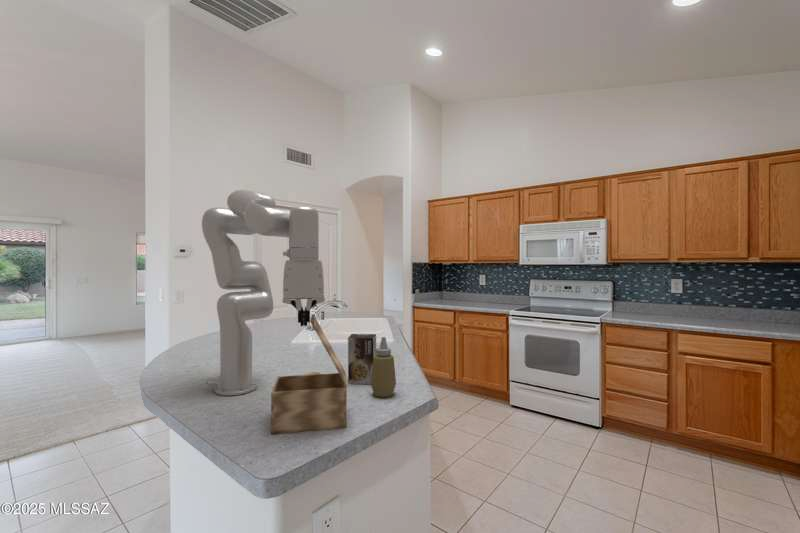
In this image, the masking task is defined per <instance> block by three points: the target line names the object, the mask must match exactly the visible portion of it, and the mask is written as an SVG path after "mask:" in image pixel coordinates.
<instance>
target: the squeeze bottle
mask: <svg viewBox="0 0 800 533" xmlns="http://www.w3.org/2000/svg"><path fill="white" fill-rule="evenodd" d="M395 368H396V366H395V356H394V355H392V349H391V347H388V342H387V339H386V337H385V336H382V337H381V340H380V345H379V347H376V355H375V356H374V357H373V366H372V376H371V384H370V387H371V389H372V392H373V395H374V396H376V397H379V398H388V397H391V396H393V394H394V391H395V388H396V385H397V379H396V378H397V377H396V370H395Z"/></svg>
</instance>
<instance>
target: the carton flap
mask: <svg viewBox="0 0 800 533" xmlns="http://www.w3.org/2000/svg"><path fill="white" fill-rule="evenodd" d="M310 324H311V325H312V327H313V329H314V331H315V333H316V334H317V336H318V338H319V340H320V341H321V344H322V345H323V347H324V349H325V351H326V352H327V354H328V356H329V357H330V359H331V361H332V363H333V365H334V366H335V367H334V368H335V369H336V370H337V373H339V374H340V376H341V378H342V379H343V381H344V383H345V385H346V387H347V388H348V387H349V384H348V376H347V374H346V370H345V369H344V367H343V365H342V363H341V361H340V360H339V358H338V356H337V354H336V352H335V351H334V349H333V347H332V345H331V343H330V342H329V340H328V338H327V337H326V334H325V332H324V331H323V329H322V327H321V325H320V324H319V321H318V320H317V318H316V316H315V313H311V315H310Z"/></svg>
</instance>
